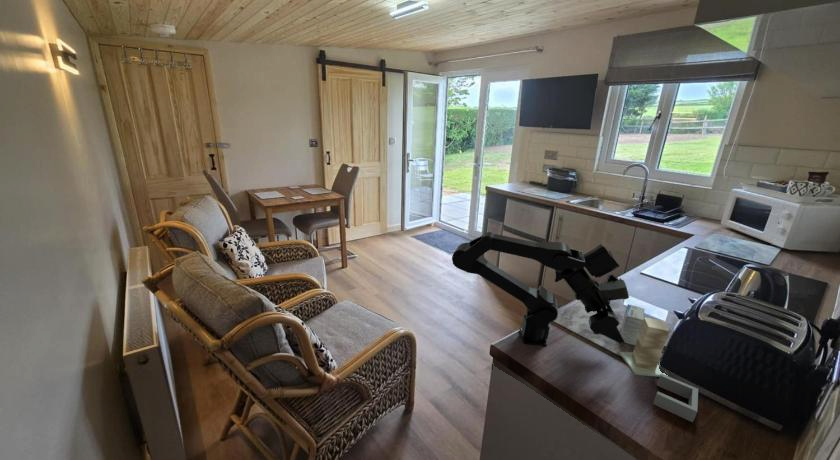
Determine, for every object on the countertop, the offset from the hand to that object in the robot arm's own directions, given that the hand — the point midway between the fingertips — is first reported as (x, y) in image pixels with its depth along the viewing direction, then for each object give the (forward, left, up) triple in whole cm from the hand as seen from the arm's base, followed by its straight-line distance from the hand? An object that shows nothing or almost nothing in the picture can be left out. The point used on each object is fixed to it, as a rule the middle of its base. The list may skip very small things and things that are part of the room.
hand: (618, 332), depth 88 cm
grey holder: (+7, -14, -8) cm, 17 cm away
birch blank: (+7, -2, -7) cm, 10 cm away
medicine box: (+9, +10, -8) cm, 16 cm away
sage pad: (+7, -2, -8) cm, 11 cm away
